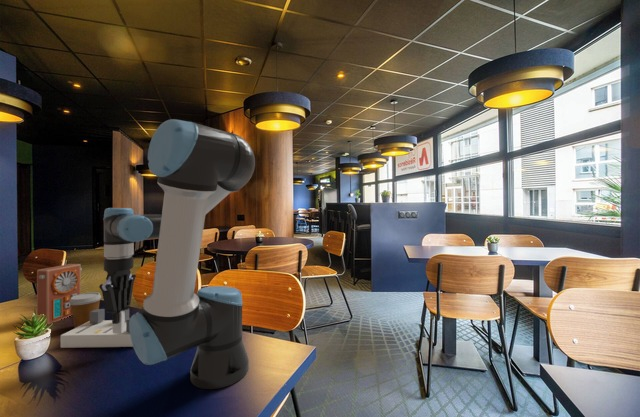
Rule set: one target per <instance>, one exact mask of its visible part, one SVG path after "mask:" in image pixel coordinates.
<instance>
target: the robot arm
mask: <svg viewBox="0 0 640 417" xmlns="http://www.w3.org/2000/svg"><path fill="white" fill-rule="evenodd" d="M148 146H149V147H148V151H147V161H148V163H147V165H148V168H149V171H150V173H151V174H153V175H154V176H156V177H157V180H156V181H157V182H156V183H157V184H158V186H159V187H160V188H161V189H162V191H163V192H164V196H163V203H162V208H161V209H162V211H161V214H160V213H158V214H134V213H135V212H134V209H133V208H131V207H108V208H105V209H104V212H103V213H104V214H103V218H102V220H103V257H104V259H103V271H105V272H106V273H107V274H106V277H105V280H106V281H105V282H104V283H101V284H100V285H99V286H98V288H99V290H100V291H101V293H102V299H103V303H104V309H105V313H106V314H111V320H112V323H113V333H123V332H124V331H125V310H128V309H129V310H130V307H129V306H131V303H132V296H133V289H134V283H135V280H136V277H137V275H136V274H132V273H131V270H132V269H134V257H133V256H134V254H135V249H134V246H135V244H134V243H135V242H142V241H146V240H155V239H158V242H157V250H156V251H157V252H156V260H155V266H154V268H155V269H154V276H153V284H152V292H151V293H150V294H149V295H148V296H146V297H145V298H144V300H143V302H142V303H143V304H142V310H141V312H140V311H139V312H136V313H134V314H132V315H131V316H130V317H131V318H130V317H129V318H130V321H129V330H130V336H131V341H132V344H133V347H132V348H133V350H134V352H135V355H136V356H137V358H138V359H139V361H140V362H142V364H144V365H146V366H147V365H148V366H152V365H155V364H157V363H158V364H159V363H161V362H164V361H167V360H168V359H170V358H172V357H175V356H177V355H180V354H182V353H184V352H187V351H188V350H189V351H190V350H191V349H194V348H196V347H197V348H196V352H195V355H194V357H193V361H192V364H191V367H190V372H189V374H190V377H189V379H190V382H191V384H192V385H193V386H194V387H195V388H199V389H203V390H217V389H222V388H226V387H229V386H232V385H233V384H236V383H237V382H239V381H240V380H242V379H243V378H244V377H245V376H246V375H247V373H248V372H249V366H250V365H249V364H250V363H249V355H248V352H247V351H246V347H245V344H244V342H243V305H244V304H243V295H242V292H241V291H240V290H239V288H235V287H231V286H222V285H219V286H218V285H215V286H206V287H201V288H200V289H198V290H197V293H195V288H196V281H197V275H198V274H197V273H198V268H199V260H200V255H201V254H200V253H201V246H202V240H203V234H204V228H205V221H206V220H205V219H206V215H207V214H208V213H209V212H210V211H212V210H213V209H214V208H215V207H216V206H217V205H219V203H221V202H222V201H223V200H224V199H225V198H226V197H227V196H229V194H231V193H236V192H239V191H240V190H241V189H242V188H243V187H244V186H245V185H246V184H248V183H249V181H250V179H251V178H252V177H253V175H254V173H255V172H254V171H255V169H256V157H255V153H254V151H253V149H252V147H251V146H250V144H249V142H248V141H246V139H245V138H243V137H242V136H240V135H238V134H236V133H234V132H229V131H224V130H221V129H217V128H214V127H209V126H207V125H203V124H200V123H196V122H192V121H188V120H187V121H186V120H181V119H176V118H175V119H172V118H171V119H168V120H165V121H164V122H162V123H161V124H160V125H159V126H158V127H157V129H155V131H154V133H153V135H152V137H151V140H150V142H149V145H148Z"/></svg>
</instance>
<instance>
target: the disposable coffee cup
mask: <svg viewBox="0 0 640 417" xmlns="http://www.w3.org/2000/svg"><path fill="white" fill-rule="evenodd" d="M101 298H103V295H101V293H100V292H97V291H95V292H84V293H81V294H79V295H76V296H73V297H71V299H70V301H69V303H70V305H71V309H72V315H73V316H72V321H73V326H74V329H75V328H77V327H79V326H81V325H83V324H85V323H87V322H89V321H90V312H91V311H93V310H95V309H100V302H101Z"/></svg>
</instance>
